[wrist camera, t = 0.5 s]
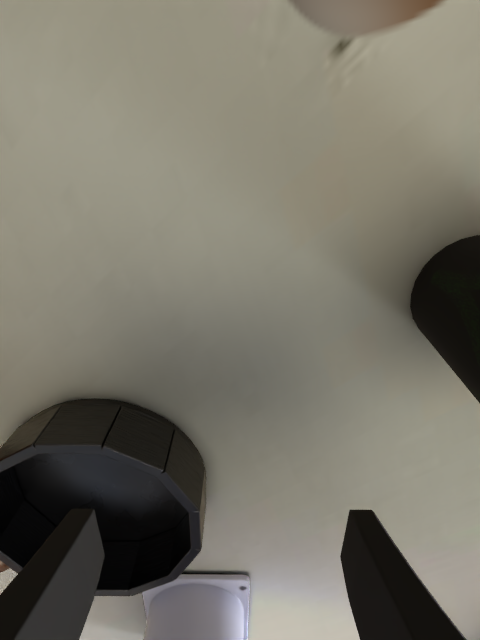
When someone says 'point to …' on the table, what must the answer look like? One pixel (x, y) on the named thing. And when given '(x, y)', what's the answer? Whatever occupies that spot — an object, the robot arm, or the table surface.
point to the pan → (105, 490)
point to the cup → (452, 308)
